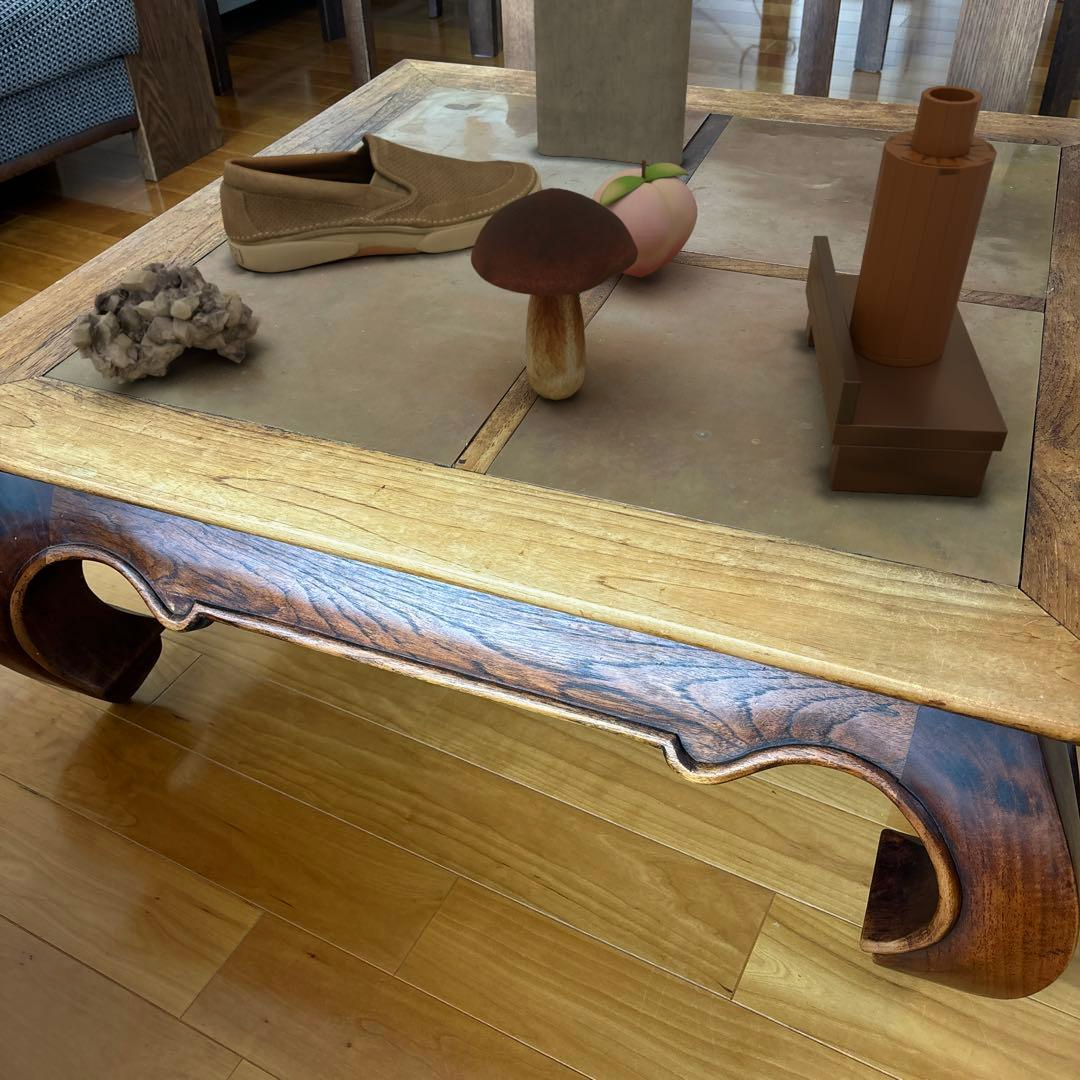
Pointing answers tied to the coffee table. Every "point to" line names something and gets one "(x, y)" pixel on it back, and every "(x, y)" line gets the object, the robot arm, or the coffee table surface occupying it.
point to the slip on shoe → (361, 203)
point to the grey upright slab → (612, 78)
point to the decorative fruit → (651, 212)
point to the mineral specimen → (161, 322)
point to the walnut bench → (898, 402)
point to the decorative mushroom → (553, 275)
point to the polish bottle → (922, 231)
